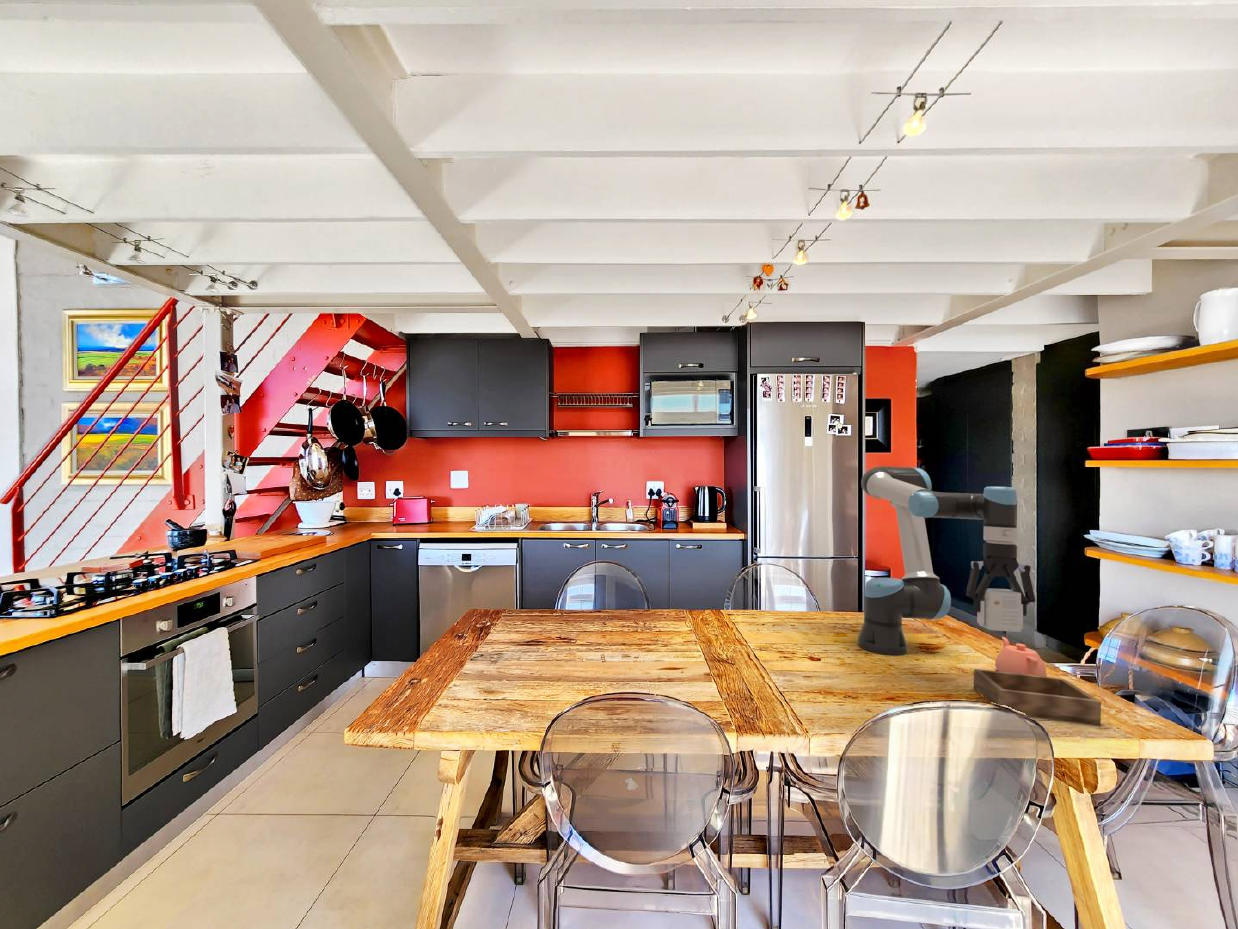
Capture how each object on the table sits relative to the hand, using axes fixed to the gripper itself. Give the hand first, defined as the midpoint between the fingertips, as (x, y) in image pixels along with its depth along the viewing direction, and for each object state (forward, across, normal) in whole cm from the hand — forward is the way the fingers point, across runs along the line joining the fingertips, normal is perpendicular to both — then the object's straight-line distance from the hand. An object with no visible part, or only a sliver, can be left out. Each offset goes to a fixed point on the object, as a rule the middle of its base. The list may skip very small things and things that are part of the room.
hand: (999, 625), depth 145 cm
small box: (+1, 0, 0) cm, 1 cm away
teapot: (+18, +13, +20) cm, 30 cm away
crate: (+19, +6, -5) cm, 20 cm away
